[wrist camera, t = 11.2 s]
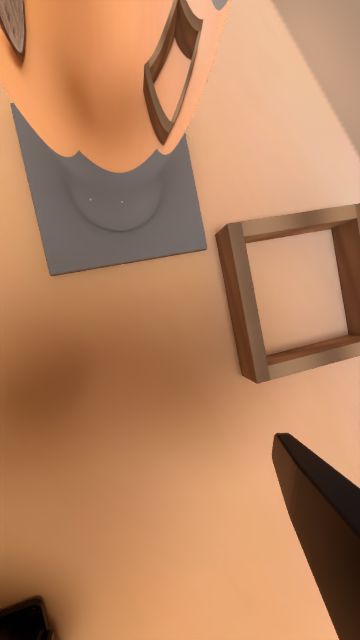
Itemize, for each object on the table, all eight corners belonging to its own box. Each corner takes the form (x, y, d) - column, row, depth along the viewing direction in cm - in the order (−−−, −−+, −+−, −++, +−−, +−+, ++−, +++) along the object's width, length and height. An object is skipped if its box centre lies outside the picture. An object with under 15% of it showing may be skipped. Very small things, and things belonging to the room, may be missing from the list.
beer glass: (48, 144, 17) (-382, -775, 3) (151, 127, 19) (238, -568, 4) (80, 249, 18) (-139, -50, 3) (178, 226, 19) (345, -66, 4)
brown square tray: (242, 375, 21) (257, 383, 18) (215, 234, 20) (227, 223, 18) (361, 343, 23) (388, 347, 20) (340, 214, 22) (366, 202, 20)
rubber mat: (52, 276, 18) (50, 274, 18) (13, 109, 17) (10, 103, 17) (205, 250, 20) (207, 248, 20) (176, 99, 19) (177, 93, 19)
